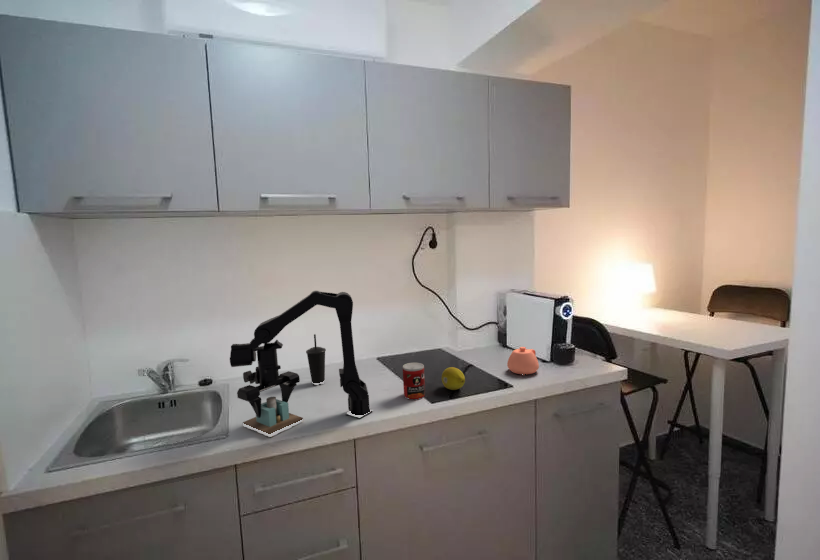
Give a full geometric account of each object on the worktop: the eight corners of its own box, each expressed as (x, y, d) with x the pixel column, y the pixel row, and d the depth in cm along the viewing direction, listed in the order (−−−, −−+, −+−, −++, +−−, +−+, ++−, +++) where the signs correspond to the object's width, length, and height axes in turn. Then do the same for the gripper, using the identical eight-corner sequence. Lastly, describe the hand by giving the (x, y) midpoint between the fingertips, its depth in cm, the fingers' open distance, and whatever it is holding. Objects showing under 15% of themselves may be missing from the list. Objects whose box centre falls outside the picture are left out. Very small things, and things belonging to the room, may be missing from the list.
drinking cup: (304, 384, 162) (301, 335, 160) (321, 378, 167) (317, 331, 165) (315, 388, 157) (311, 337, 155) (331, 382, 162) (328, 333, 160)
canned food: (407, 401, 140) (405, 370, 139) (401, 393, 148) (400, 363, 147) (428, 398, 142) (426, 367, 141) (421, 390, 150) (420, 361, 149)
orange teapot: (501, 371, 166) (500, 347, 165) (524, 364, 174) (523, 340, 173) (524, 379, 156) (524, 353, 155) (548, 371, 163) (547, 346, 162)
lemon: (437, 386, 153) (436, 365, 152) (456, 382, 155) (455, 362, 155) (450, 396, 143) (449, 374, 142) (470, 392, 145) (469, 370, 144)
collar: (289, 418, 128) (288, 402, 127) (269, 427, 122) (268, 411, 122) (275, 413, 132) (274, 398, 131) (256, 421, 126) (255, 406, 126)
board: (303, 422, 128) (301, 396, 127) (270, 438, 118) (267, 410, 117) (276, 412, 136) (274, 388, 135) (243, 426, 126) (240, 400, 126)
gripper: (277, 352, 137) (281, 396, 139) (224, 367, 122) (229, 417, 124) (298, 356, 131) (302, 403, 132) (245, 373, 116) (250, 426, 117)
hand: (272, 411), depth 127 cm, fingers open, 9 cm apart
